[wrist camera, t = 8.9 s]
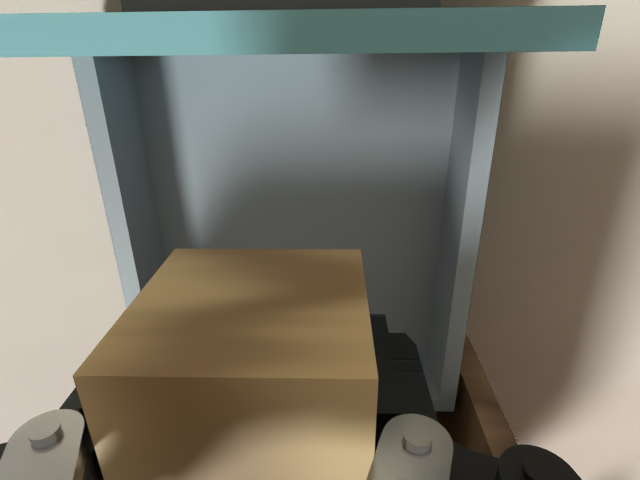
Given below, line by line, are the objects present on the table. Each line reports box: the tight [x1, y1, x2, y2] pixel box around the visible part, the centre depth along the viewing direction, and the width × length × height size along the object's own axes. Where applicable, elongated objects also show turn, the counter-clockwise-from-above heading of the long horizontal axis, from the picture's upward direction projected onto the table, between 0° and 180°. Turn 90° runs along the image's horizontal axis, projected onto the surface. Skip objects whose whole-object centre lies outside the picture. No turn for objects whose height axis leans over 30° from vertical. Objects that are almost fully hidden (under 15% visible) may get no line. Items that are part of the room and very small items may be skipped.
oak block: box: [73, 249, 379, 480], centre depth 10 cm, size 5×5×5 cm
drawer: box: [0, 0, 606, 412], centre depth 19 cm, size 19×22×7 cm
